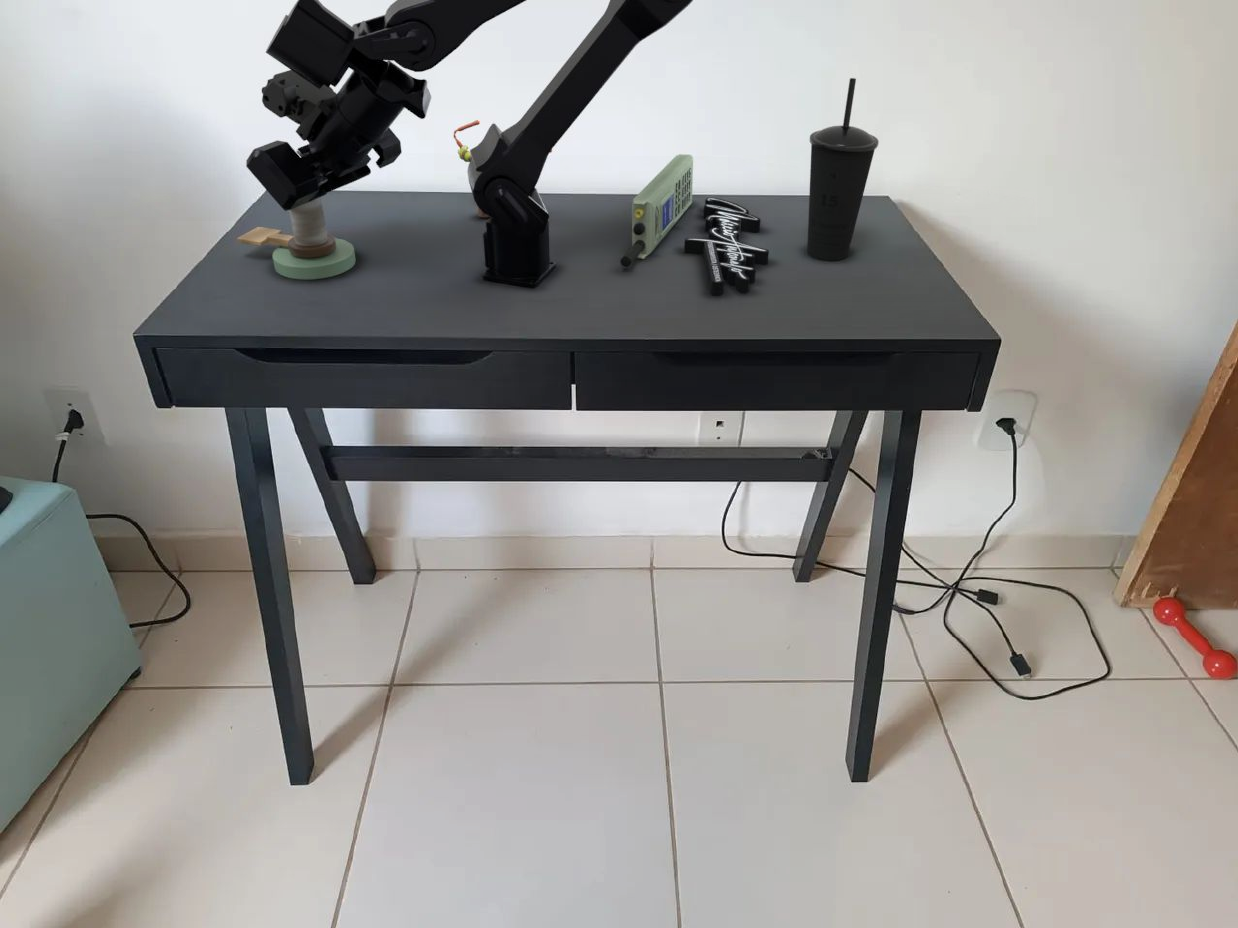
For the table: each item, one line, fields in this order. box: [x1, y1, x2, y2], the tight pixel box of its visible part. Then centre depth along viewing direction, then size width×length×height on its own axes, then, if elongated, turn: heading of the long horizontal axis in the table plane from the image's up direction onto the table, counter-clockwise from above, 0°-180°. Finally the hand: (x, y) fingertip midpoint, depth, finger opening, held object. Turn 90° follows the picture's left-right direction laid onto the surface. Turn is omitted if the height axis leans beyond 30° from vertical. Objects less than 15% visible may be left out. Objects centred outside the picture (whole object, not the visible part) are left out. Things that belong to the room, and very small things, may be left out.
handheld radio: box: [619, 153, 694, 268], centre depth 116 cm, size 7×3×25 cm
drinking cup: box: [806, 77, 879, 262], centre depth 108 cm, size 8×8×20 cm
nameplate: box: [683, 197, 770, 297], centre depth 115 cm, size 28×2×10 cm
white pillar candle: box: [236, 197, 336, 258], centre depth 106 cm, size 11×5×10 cm, turn 71°
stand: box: [272, 237, 356, 281], centre depth 109 cm, size 9×9×2 cm
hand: (295, 201), depth 105 cm, fingers closed on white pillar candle, 4 cm apart
